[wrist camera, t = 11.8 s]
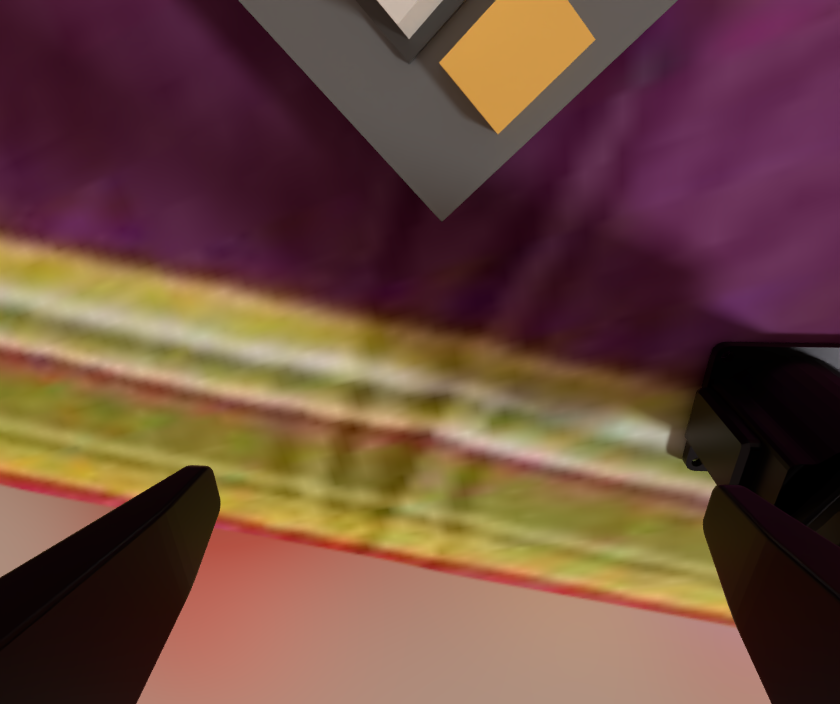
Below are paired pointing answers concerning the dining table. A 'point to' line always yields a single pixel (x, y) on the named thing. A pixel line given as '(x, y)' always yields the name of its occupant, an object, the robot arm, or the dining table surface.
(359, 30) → the grey boxy piece
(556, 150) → the dining table surface
